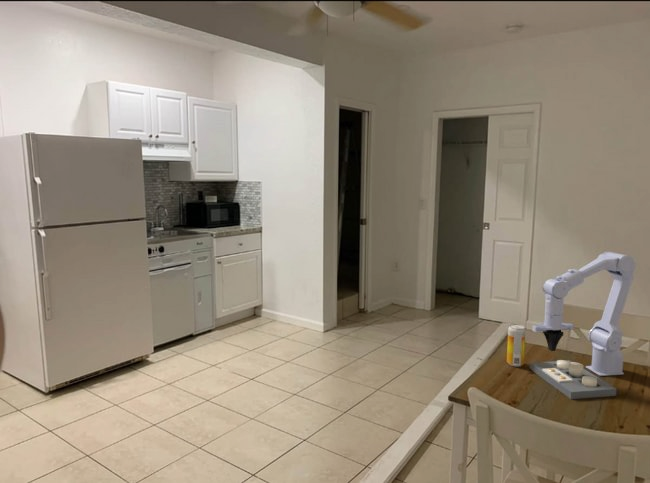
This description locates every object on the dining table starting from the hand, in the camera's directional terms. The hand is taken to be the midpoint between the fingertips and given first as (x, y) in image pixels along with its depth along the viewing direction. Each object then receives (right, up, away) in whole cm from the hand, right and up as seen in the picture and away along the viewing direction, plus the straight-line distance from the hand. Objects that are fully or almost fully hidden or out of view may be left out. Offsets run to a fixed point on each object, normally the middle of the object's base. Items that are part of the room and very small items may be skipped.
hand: (551, 349), depth 166 cm
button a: (+6, -9, +4) cm, 12 cm away
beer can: (-8, -9, +12) cm, 17 cm away
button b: (+7, -8, -3) cm, 11 cm away
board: (+5, -10, -3) cm, 12 cm away
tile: (0, -8, -4) cm, 9 cm away
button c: (+8, -11, -10) cm, 17 cm away
